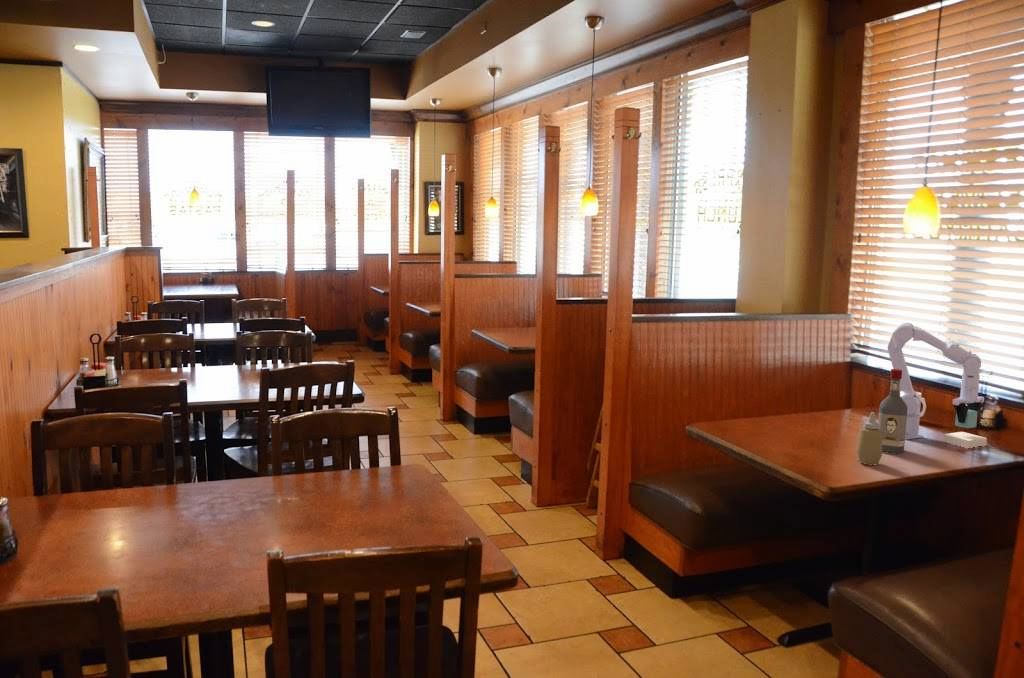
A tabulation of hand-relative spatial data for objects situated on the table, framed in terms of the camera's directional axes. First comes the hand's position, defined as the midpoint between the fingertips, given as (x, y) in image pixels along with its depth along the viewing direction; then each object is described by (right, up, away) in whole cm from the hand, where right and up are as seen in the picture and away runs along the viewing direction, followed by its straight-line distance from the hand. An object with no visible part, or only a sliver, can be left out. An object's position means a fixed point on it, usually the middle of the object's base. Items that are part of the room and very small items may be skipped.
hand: (966, 422), depth 302 cm
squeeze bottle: (-48, -12, -25) cm, 55 cm away
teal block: (0, -2, 0) cm, 2 cm away
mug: (-3, -4, +35) cm, 35 cm away
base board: (0, -8, +1) cm, 8 cm away
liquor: (-33, -10, -9) cm, 35 cm away
